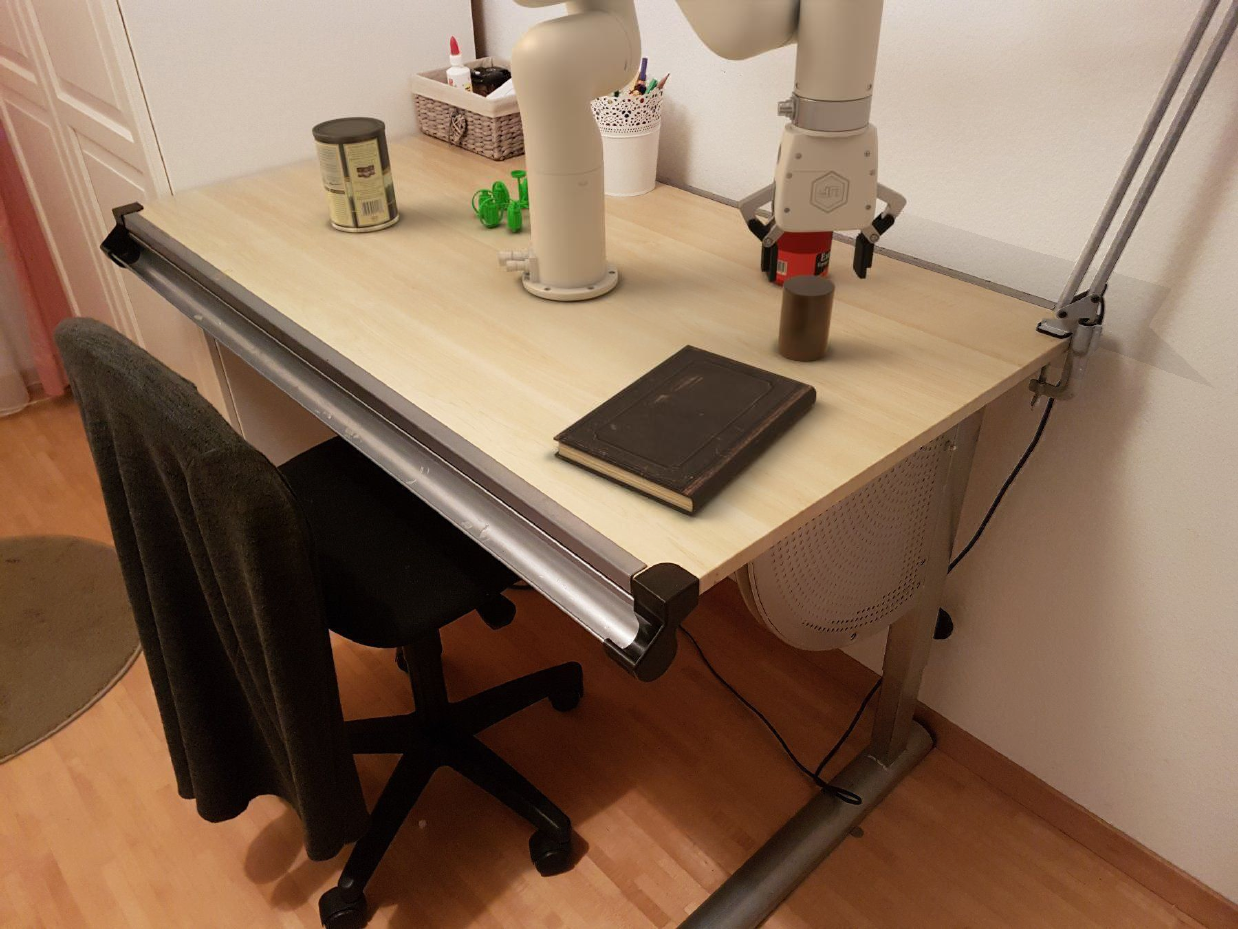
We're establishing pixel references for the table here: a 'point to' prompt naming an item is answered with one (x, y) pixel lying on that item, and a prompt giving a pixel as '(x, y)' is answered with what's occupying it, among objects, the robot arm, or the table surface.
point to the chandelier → (503, 203)
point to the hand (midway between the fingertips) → (814, 275)
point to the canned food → (803, 254)
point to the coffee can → (356, 173)
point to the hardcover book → (685, 427)
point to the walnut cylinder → (805, 317)
